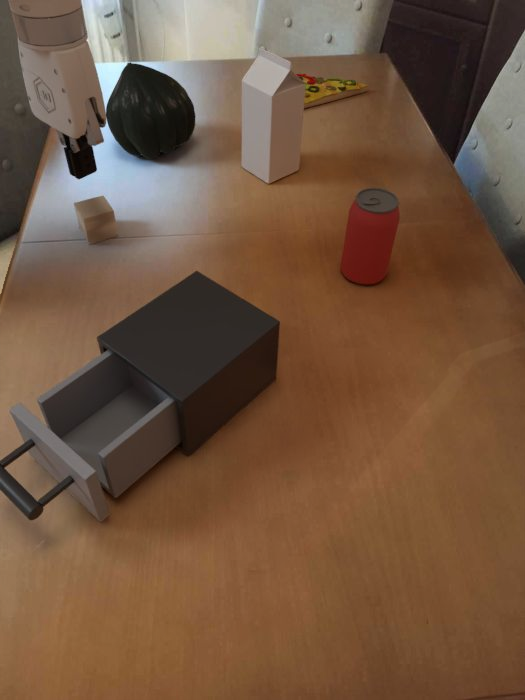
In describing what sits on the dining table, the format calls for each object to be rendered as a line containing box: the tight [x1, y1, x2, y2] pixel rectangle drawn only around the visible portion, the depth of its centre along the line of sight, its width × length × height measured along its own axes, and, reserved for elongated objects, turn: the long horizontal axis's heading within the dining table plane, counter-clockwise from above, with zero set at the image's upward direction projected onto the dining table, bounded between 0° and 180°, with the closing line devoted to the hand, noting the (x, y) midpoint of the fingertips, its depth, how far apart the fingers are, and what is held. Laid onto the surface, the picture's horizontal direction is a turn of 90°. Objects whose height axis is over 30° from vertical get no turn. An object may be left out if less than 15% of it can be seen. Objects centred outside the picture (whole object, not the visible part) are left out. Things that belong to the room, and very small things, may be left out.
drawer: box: [0, 350, 182, 523], centre depth 59 cm, size 18×11×8 cm, turn 139°
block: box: [73, 195, 119, 245], centre depth 88 cm, size 4×4×4 cm
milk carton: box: [241, 47, 306, 185], centre depth 96 cm, size 7×7×19 cm
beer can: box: [340, 187, 401, 286], centre depth 81 cm, size 7×7×12 cm
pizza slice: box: [295, 73, 369, 109], centre depth 123 cm, size 16×21×3 cm
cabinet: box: [96, 270, 281, 458], centre depth 66 cm, size 15×13×10 cm
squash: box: [105, 62, 196, 160], centre depth 103 cm, size 14×15×15 cm
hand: (83, 173), depth 79 cm, fingers closed
